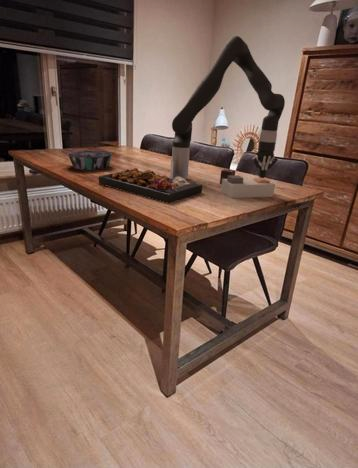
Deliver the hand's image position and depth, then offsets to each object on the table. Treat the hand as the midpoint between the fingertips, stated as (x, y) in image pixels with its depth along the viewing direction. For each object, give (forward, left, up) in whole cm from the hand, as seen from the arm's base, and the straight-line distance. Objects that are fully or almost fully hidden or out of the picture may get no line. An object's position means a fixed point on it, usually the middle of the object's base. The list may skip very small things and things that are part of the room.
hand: (261, 177), depth 156 cm
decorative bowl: (-79, +65, -8) cm, 103 cm away
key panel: (-7, 0, -8) cm, 10 cm away
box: (-9, +20, -8) cm, 23 cm away
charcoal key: (-14, 0, -4) cm, 14 cm away
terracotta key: (0, 0, -5) cm, 5 cm away
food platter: (-52, +14, -9) cm, 55 cm away
